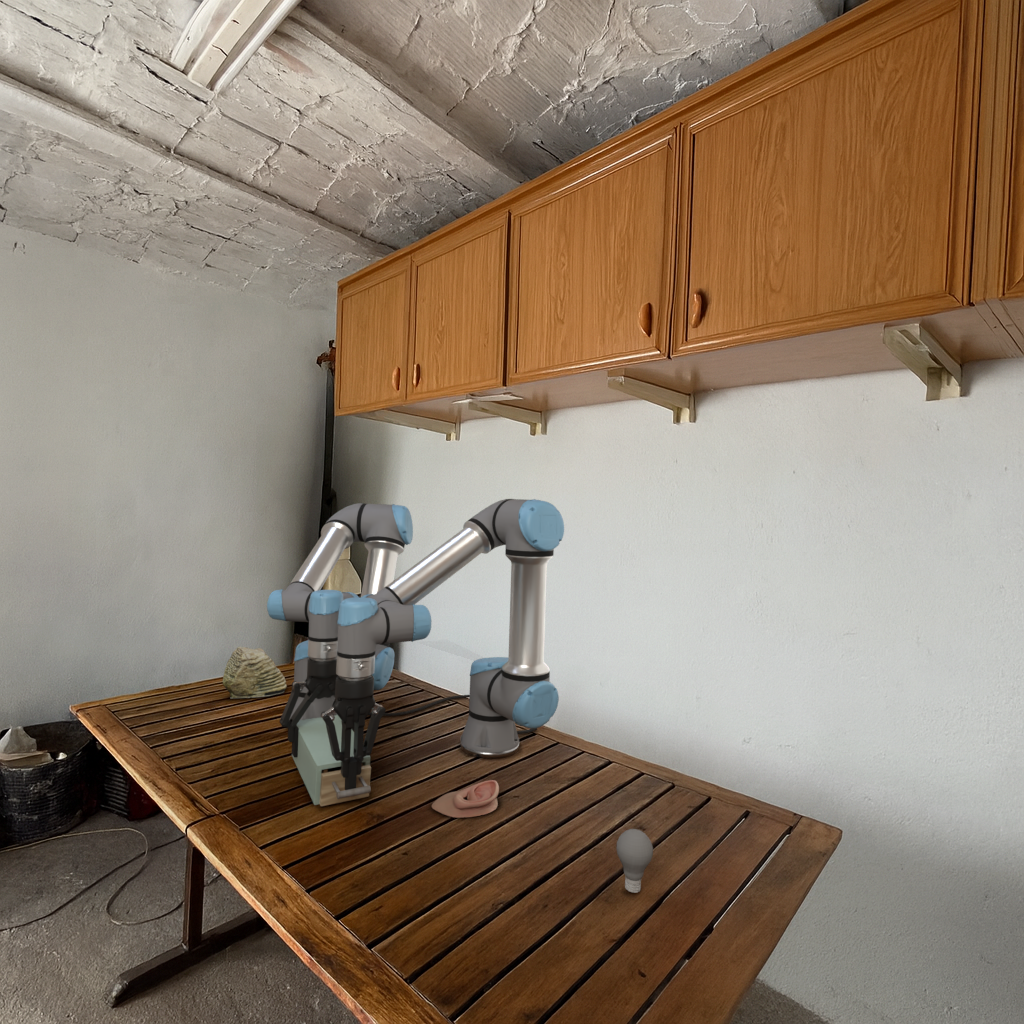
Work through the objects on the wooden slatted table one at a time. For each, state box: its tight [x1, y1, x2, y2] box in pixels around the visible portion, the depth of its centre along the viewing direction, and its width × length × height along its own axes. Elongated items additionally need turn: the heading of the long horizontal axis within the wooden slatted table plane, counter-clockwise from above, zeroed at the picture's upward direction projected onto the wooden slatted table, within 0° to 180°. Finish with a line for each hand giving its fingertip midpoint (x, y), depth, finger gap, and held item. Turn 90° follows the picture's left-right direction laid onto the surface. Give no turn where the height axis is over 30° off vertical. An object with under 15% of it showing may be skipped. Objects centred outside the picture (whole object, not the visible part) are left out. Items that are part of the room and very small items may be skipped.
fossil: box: [222, 646, 288, 699], centre depth 198 cm, size 9×18×15 cm, turn 132°
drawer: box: [318, 763, 372, 807], centre depth 137 cm, size 26×10×6 cm, turn 31°
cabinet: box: [291, 715, 371, 806], centre depth 142 cm, size 22×11×9 cm, turn 31°
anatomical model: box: [431, 779, 500, 819], centre depth 132 cm, size 13×4×12 cm
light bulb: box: [615, 828, 654, 894], centre depth 106 cm, size 6×6×10 cm
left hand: (321, 750), depth 148 cm, fingers closed on cabinet, 11 cm apart
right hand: (350, 791), depth 128 cm, fingers closed
